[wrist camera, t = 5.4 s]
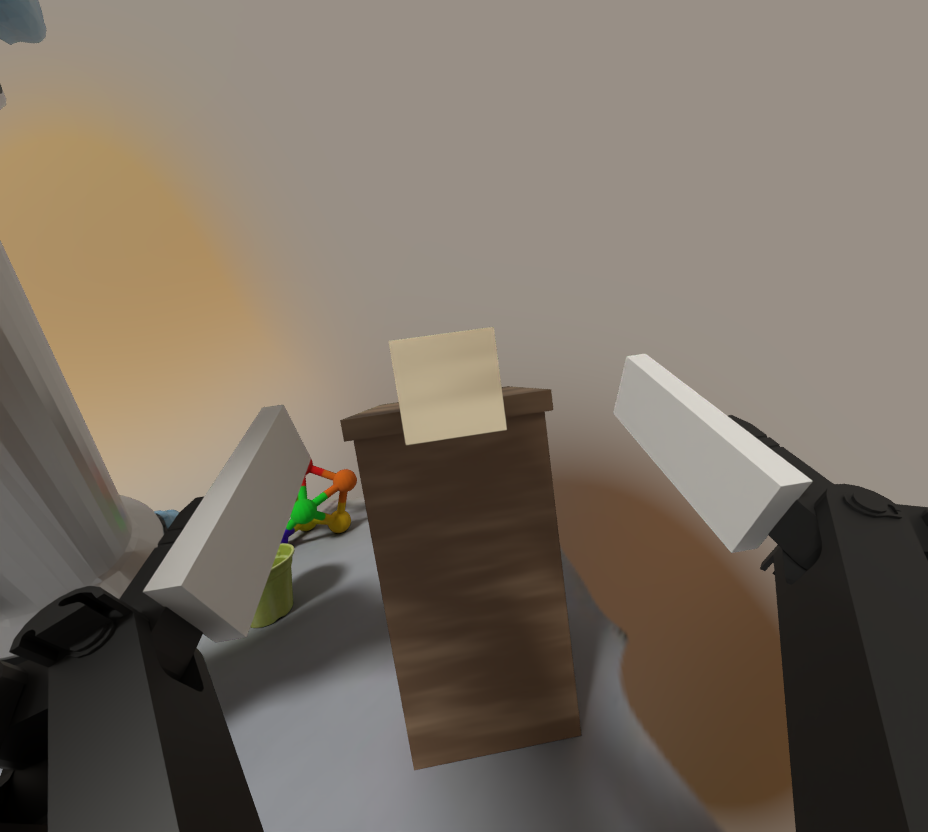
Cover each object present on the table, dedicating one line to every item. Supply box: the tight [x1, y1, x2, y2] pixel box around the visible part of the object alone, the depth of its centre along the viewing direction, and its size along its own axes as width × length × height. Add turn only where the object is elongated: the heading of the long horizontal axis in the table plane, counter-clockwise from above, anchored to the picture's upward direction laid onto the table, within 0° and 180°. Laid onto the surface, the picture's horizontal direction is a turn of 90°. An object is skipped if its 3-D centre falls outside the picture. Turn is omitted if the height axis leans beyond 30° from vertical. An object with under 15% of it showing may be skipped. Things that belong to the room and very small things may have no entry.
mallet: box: [389, 327, 507, 445], centre depth 23 cm, size 28×7×5 cm, turn 4°
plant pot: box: [250, 543, 294, 628], centre depth 48 cm, size 9×9×9 cm
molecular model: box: [280, 460, 357, 544], centre depth 71 cm, size 21×15×20 cm
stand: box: [340, 386, 581, 770], centre depth 32 cm, size 15×15×29 cm
